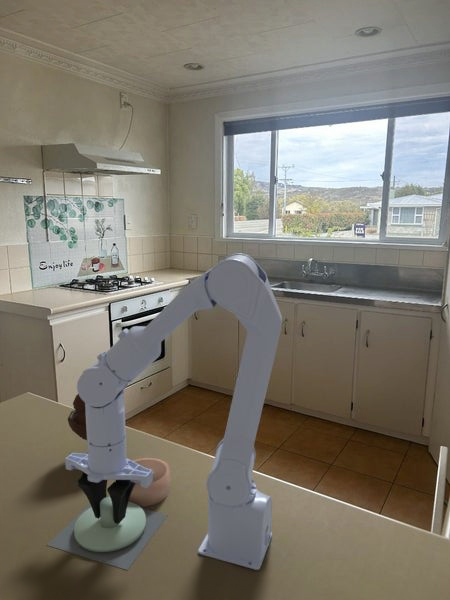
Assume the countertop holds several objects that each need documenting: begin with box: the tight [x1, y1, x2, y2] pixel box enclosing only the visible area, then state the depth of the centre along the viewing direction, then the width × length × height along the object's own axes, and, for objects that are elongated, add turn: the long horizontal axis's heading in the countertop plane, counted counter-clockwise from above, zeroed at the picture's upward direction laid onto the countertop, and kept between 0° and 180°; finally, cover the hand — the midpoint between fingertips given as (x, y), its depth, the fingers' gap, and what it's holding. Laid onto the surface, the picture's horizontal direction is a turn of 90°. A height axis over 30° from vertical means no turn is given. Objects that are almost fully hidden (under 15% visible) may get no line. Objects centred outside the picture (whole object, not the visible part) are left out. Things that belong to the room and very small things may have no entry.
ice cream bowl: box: [67, 393, 88, 454], centre depth 92 cm, size 11×11×15 cm
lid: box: [74, 496, 146, 552], centre depth 71 cm, size 11×11×4 cm
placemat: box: [46, 503, 169, 571], centre depth 72 cm, size 14×13×1 cm
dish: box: [128, 457, 171, 507], centre depth 81 cm, size 9×9×4 cm
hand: (110, 516), depth 71 cm, fingers closed on lid, 3 cm apart
